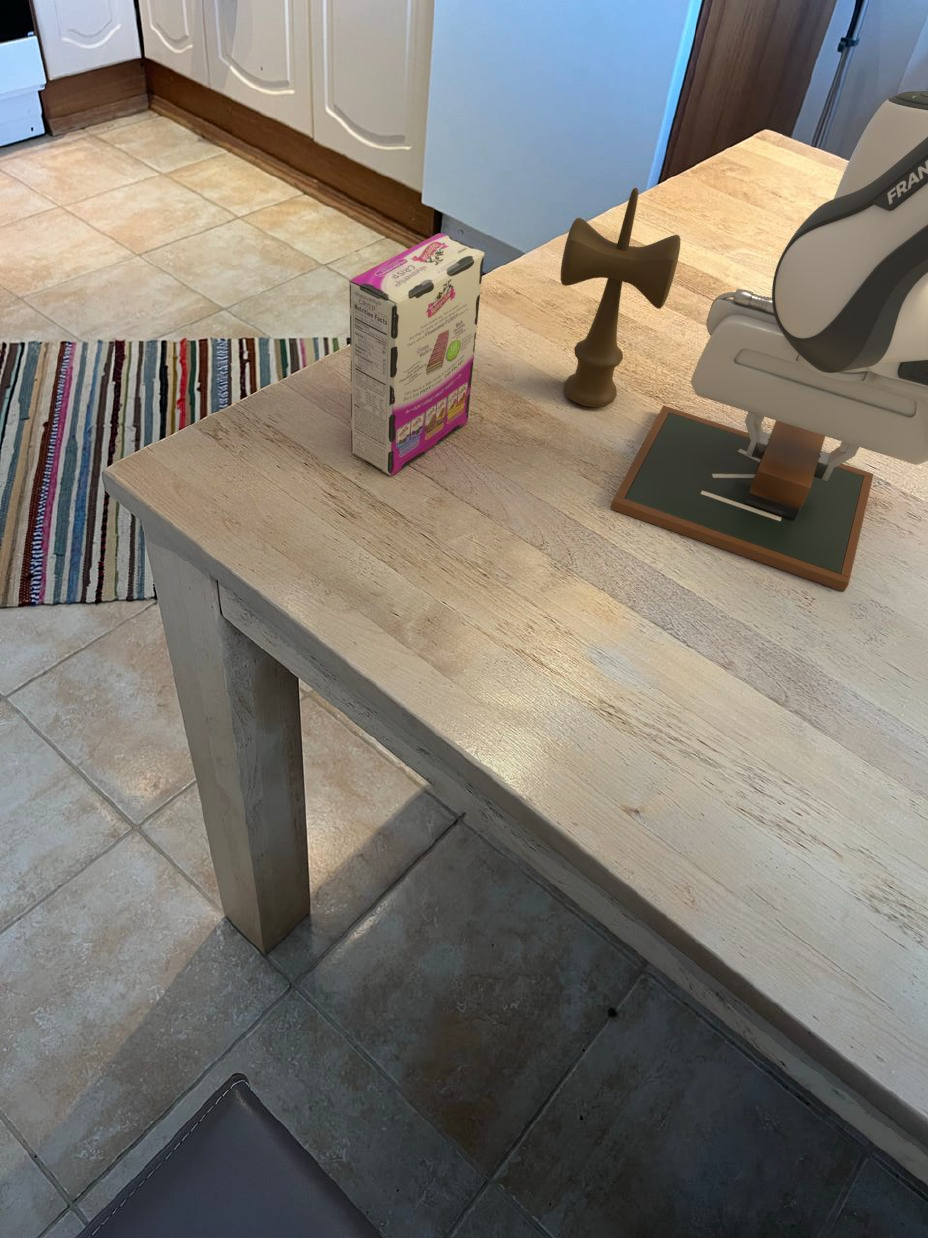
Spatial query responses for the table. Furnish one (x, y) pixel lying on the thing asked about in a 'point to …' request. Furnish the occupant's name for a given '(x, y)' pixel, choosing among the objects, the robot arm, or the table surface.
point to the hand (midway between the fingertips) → (787, 464)
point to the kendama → (612, 297)
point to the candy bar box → (412, 350)
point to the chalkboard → (741, 500)
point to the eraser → (785, 470)
